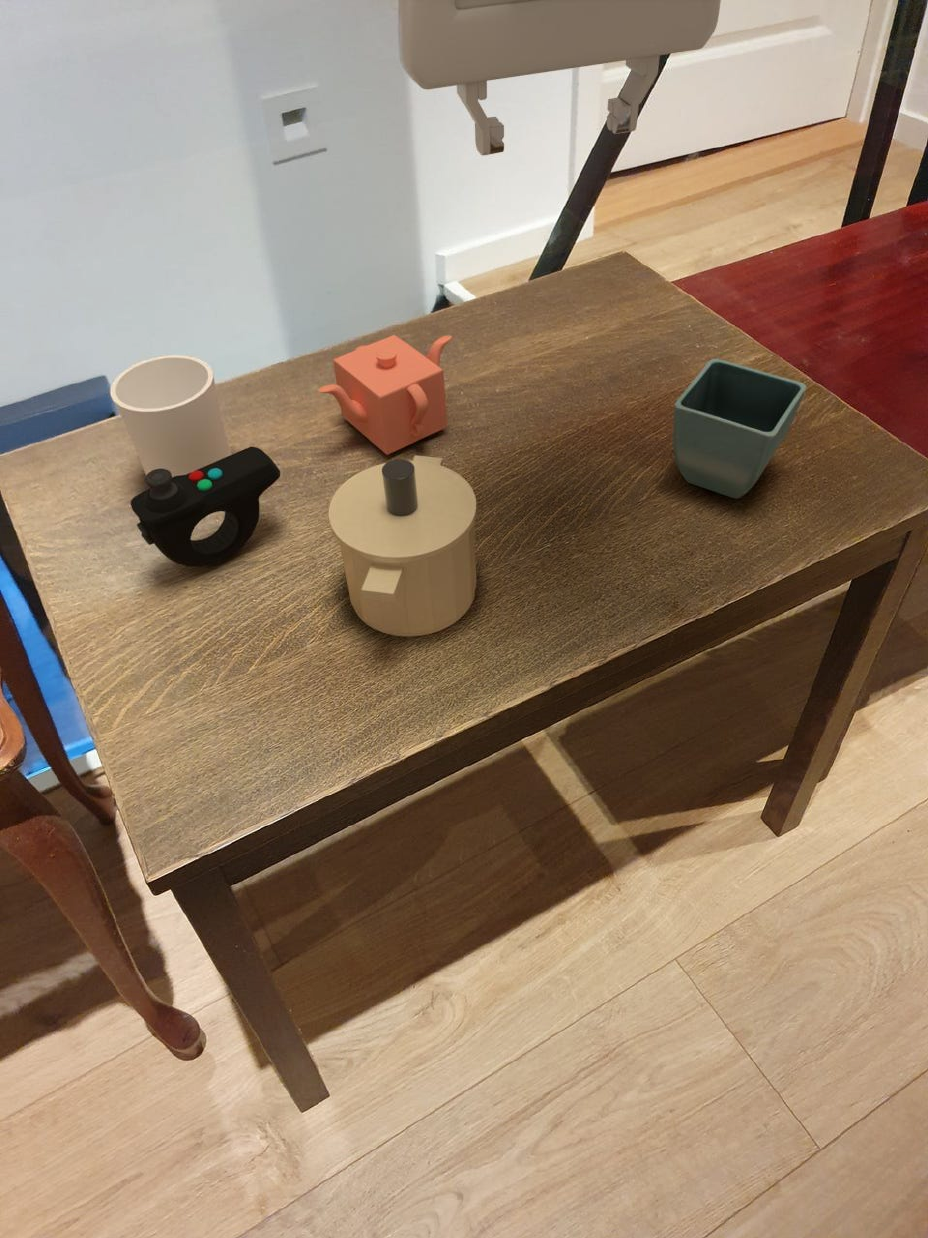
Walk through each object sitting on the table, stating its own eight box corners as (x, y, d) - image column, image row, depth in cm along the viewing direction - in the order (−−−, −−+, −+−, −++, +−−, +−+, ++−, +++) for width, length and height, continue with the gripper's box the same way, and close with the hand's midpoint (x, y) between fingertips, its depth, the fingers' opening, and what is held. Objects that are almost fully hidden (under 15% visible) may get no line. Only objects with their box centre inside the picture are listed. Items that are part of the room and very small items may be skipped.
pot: (491, 533, 78) (490, 455, 72) (454, 671, 68) (448, 593, 62) (378, 520, 80) (367, 443, 74) (324, 653, 70) (305, 576, 63)
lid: (489, 479, 71) (488, 430, 67) (460, 577, 64) (457, 528, 60) (354, 466, 73) (346, 417, 69) (311, 559, 65) (300, 510, 62)
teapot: (300, 427, 90) (285, 353, 84) (422, 375, 96) (416, 302, 90) (362, 485, 83) (351, 410, 77) (489, 425, 89) (488, 350, 83)
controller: (151, 568, 77) (113, 477, 70) (275, 507, 82) (252, 416, 74) (173, 596, 75) (136, 504, 67) (299, 531, 79) (278, 439, 72)
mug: (255, 479, 85) (230, 385, 77) (169, 518, 81) (134, 424, 74) (204, 427, 91) (177, 335, 83) (122, 462, 87) (85, 369, 80)
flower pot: (785, 466, 83) (809, 382, 76) (751, 520, 78) (774, 436, 72) (696, 438, 86) (712, 355, 80) (658, 488, 82) (672, 405, 75)
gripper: (398, -94, 46) (419, 182, 56) (754, -134, 50) (713, 133, 60) (371, -113, 50) (396, 147, 61) (702, -149, 54) (672, 103, 64)
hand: (556, 140), depth 60 cm, fingers open, 8 cm apart
